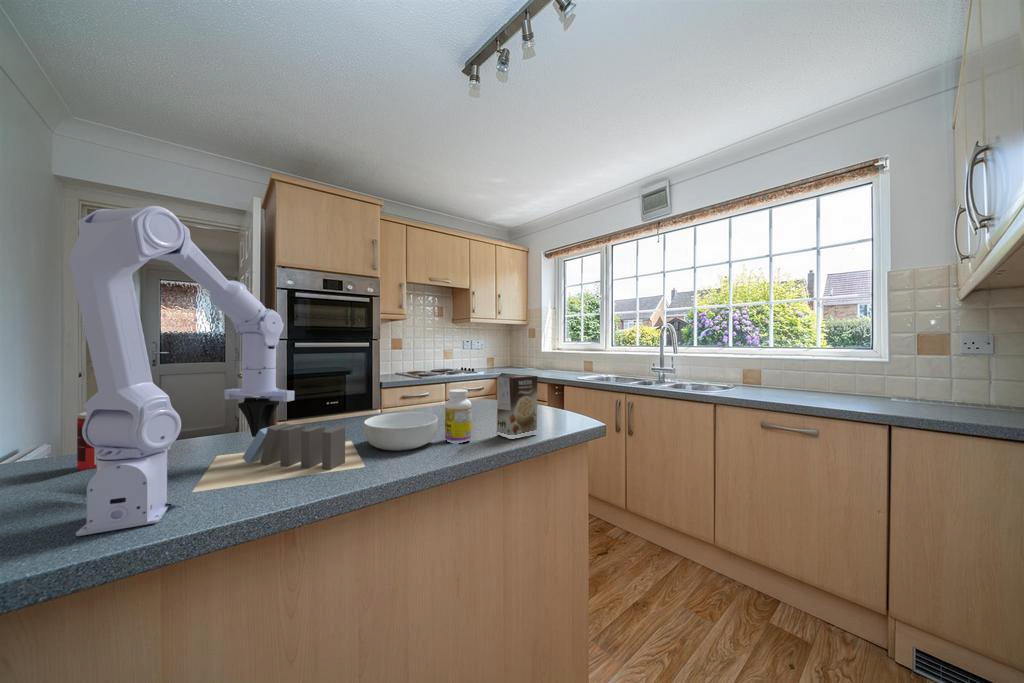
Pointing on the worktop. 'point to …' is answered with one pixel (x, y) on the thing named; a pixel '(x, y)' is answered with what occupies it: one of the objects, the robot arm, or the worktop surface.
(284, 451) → the tile
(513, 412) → the dessert mix box
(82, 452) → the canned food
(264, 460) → the tile
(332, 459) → the tile
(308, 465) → the tile
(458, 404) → the supplement bottle
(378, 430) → the cereal bowl
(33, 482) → the worktop surface
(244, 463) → the board
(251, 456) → the tile blue
